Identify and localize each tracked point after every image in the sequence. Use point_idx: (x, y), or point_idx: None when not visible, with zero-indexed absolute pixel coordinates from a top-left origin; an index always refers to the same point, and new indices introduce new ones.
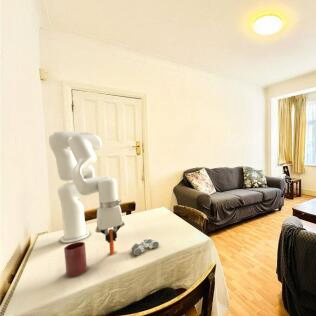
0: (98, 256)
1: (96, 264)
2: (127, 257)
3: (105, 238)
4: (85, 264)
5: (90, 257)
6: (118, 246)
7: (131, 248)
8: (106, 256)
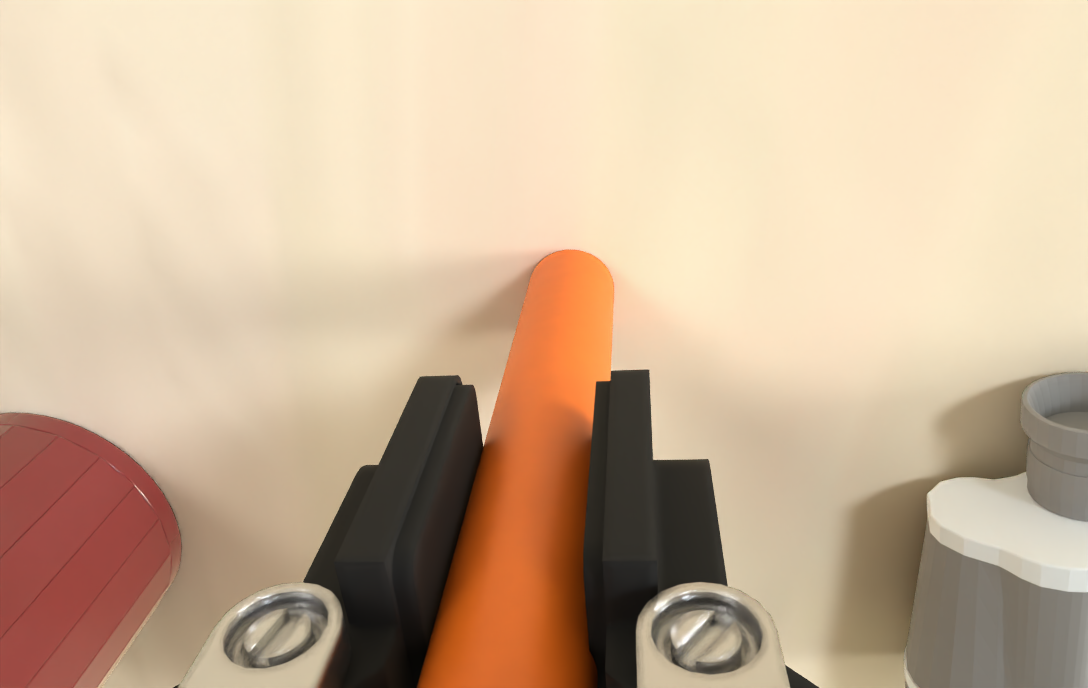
0: (313, 235)
1: (304, 498)
2: (776, 605)
3: (350, 498)
4: (122, 652)
5: (163, 169)
6: (762, 11)
7: (935, 528)
8: (459, 341)
